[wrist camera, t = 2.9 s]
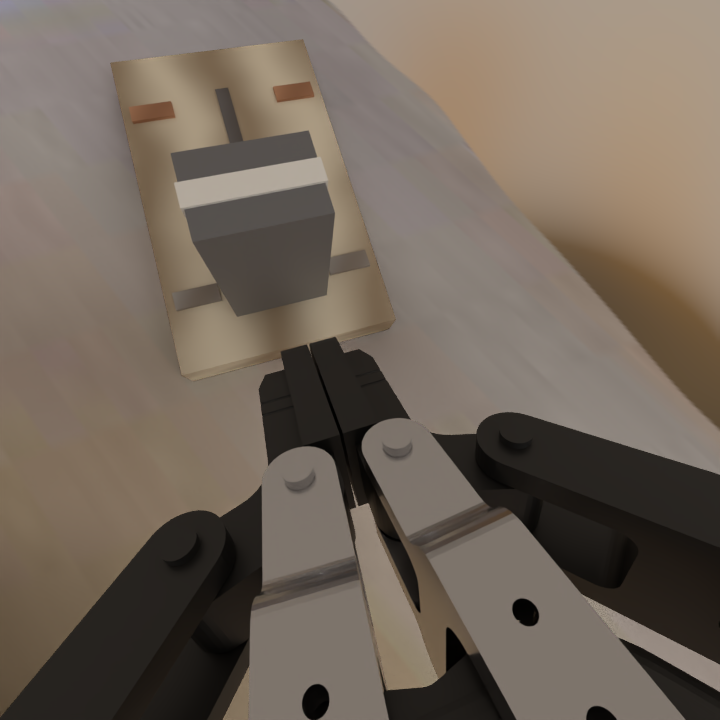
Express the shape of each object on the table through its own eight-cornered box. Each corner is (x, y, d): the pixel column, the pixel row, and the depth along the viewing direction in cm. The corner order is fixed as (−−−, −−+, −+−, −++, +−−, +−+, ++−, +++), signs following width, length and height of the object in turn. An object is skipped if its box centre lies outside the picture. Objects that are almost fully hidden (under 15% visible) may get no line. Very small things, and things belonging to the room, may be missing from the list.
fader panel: (193, 381, 22) (180, 374, 20) (126, 91, 25) (108, 59, 23) (389, 329, 24) (396, 318, 22) (303, 67, 27) (302, 36, 25)
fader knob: (235, 317, 21) (188, 241, 13) (220, 258, 21) (166, 151, 13) (328, 294, 22) (338, 210, 14) (311, 239, 22) (311, 127, 14)
